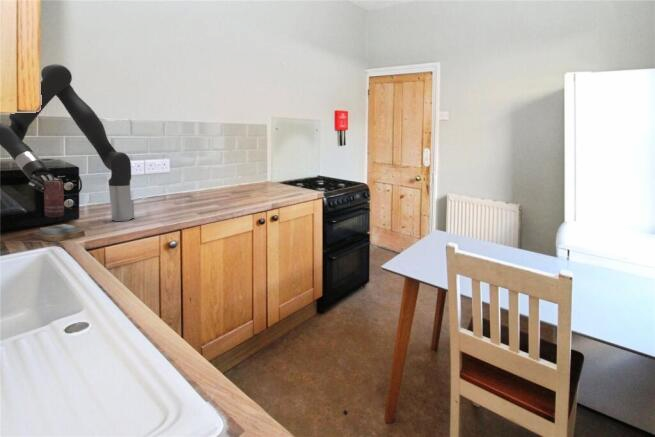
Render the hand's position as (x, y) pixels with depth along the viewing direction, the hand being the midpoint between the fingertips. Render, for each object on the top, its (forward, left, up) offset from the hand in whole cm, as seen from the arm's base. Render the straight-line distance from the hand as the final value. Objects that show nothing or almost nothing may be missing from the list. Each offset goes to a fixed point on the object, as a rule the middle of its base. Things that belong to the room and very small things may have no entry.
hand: (59, 198), depth 147 cm
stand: (0, -2, -16) cm, 16 cm away
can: (+1, -3, -7) cm, 8 cm away
